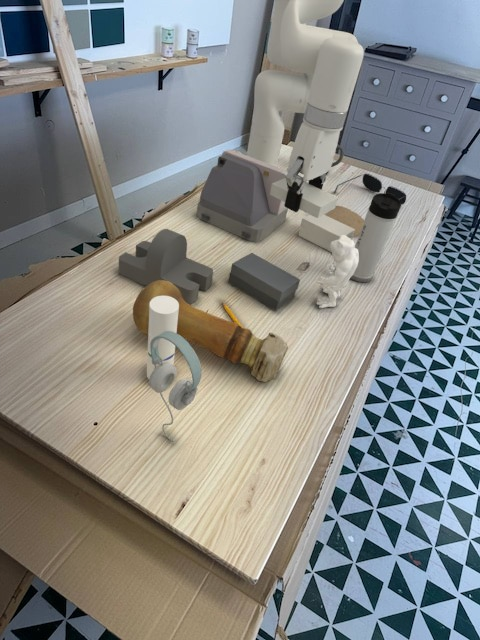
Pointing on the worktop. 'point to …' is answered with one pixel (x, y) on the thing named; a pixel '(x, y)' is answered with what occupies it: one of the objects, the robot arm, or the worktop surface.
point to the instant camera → (242, 196)
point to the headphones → (174, 373)
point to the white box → (307, 198)
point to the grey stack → (263, 281)
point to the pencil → (231, 314)
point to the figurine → (339, 269)
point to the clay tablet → (347, 218)
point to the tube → (162, 328)
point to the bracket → (167, 265)
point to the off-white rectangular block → (323, 230)
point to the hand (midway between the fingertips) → (301, 203)
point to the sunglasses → (379, 187)
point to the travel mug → (375, 234)
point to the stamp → (215, 333)
